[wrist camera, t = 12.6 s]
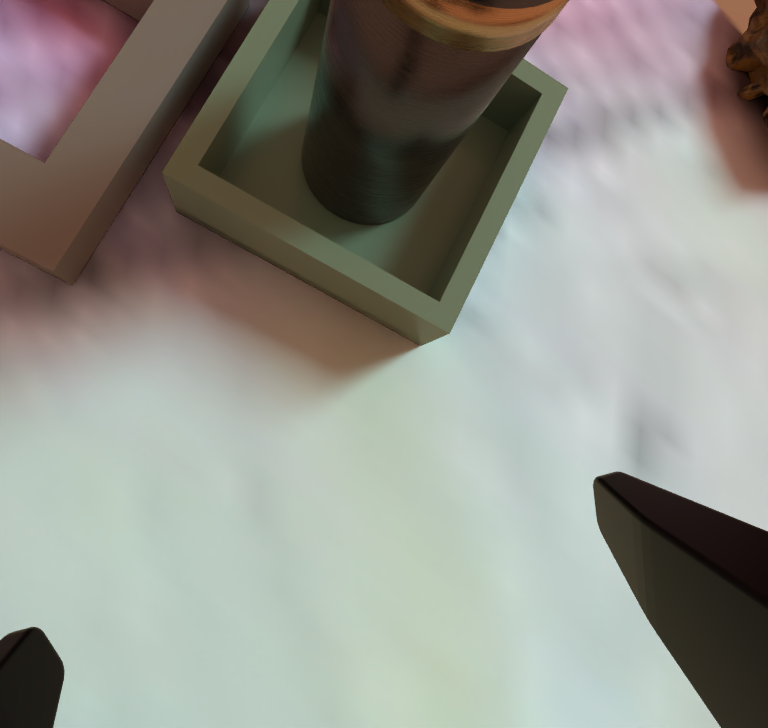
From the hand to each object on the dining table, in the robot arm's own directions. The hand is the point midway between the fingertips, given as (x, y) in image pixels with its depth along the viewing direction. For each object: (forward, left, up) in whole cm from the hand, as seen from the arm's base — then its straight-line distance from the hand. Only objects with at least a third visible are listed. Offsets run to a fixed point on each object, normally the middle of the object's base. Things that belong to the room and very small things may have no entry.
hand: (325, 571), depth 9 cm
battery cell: (+12, +3, -12) cm, 17 cm away
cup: (+12, +3, -13) cm, 18 cm away
